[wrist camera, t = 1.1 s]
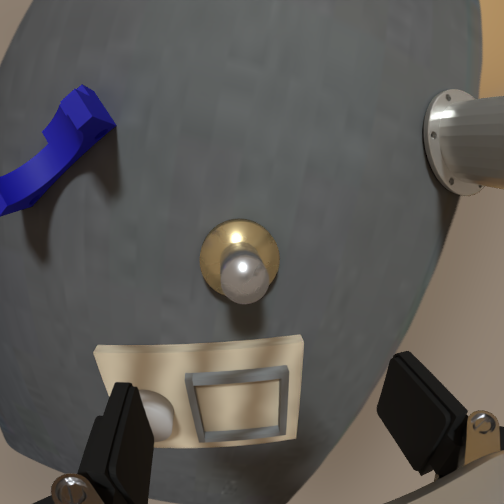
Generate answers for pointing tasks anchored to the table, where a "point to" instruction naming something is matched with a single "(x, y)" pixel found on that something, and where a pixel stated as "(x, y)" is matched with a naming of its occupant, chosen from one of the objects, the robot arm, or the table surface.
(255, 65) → the table surface
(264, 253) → the gold and silver knob
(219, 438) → the carrier plate
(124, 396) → the robot arm
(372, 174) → the table surface
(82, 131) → the cable clip
